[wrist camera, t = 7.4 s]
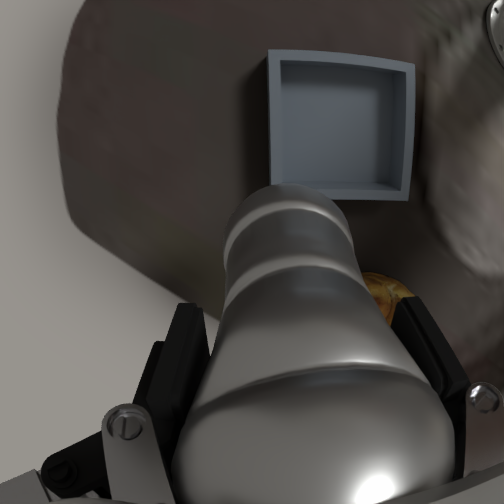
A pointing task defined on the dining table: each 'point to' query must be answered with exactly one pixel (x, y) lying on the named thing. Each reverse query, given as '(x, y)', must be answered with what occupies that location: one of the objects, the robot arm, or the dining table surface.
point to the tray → (341, 123)
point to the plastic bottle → (306, 374)
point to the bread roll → (385, 292)
